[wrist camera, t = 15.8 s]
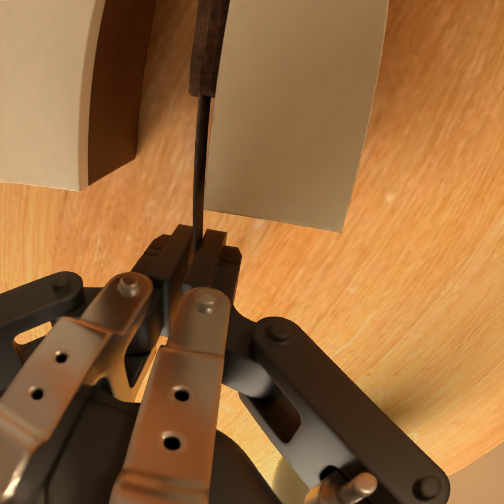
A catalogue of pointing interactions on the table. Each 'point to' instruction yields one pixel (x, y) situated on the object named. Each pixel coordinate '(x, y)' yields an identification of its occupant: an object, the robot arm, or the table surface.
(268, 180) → the slice
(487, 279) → the table surface
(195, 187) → the knife
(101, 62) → the cake
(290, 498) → the cup
